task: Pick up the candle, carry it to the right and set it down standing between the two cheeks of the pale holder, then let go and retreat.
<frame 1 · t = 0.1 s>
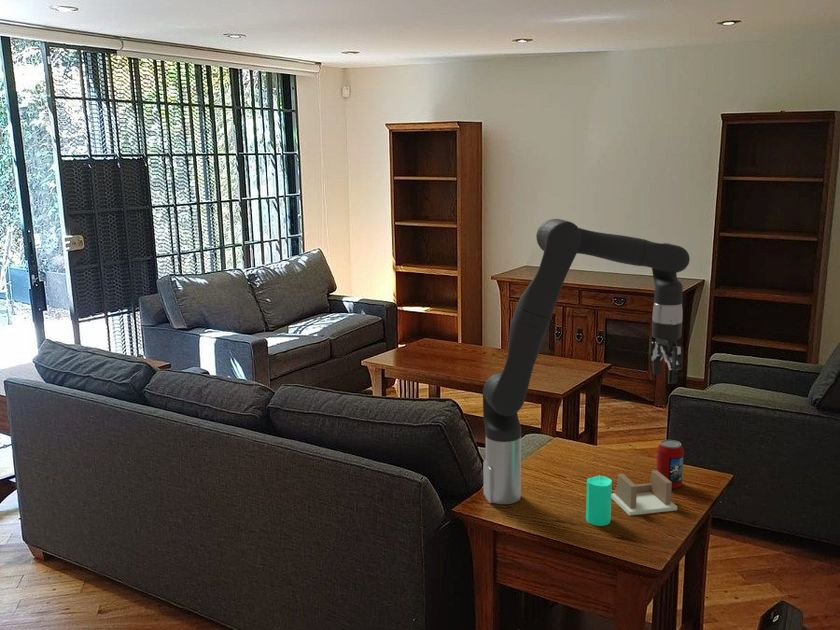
hand: (664, 378, 214), 29 cm above the table, fingers open, 8 cm apart
holder: (643, 503, 206), on the table
candle: (598, 520, 198), on the table
beverage can: (668, 485, 217), on the table
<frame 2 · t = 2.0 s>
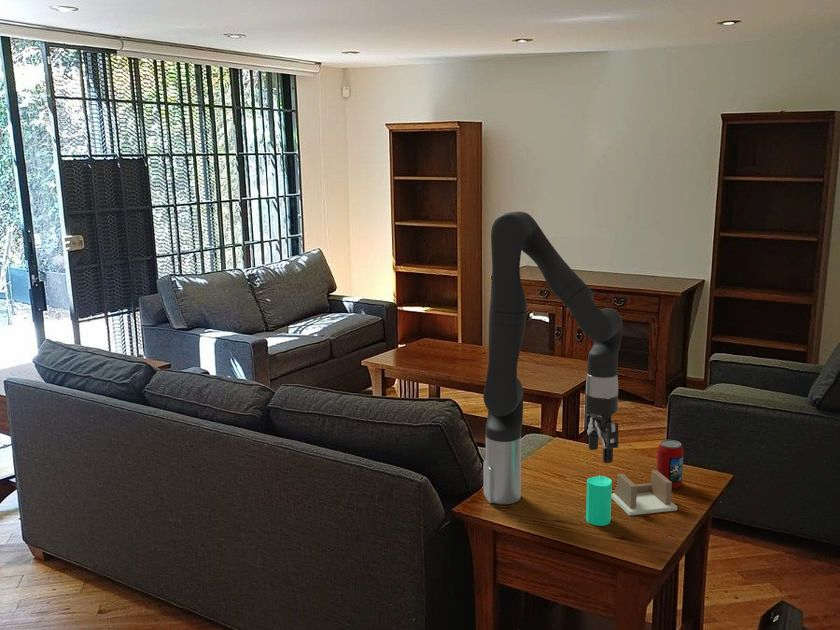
hand: (600, 455, 194), 17 cm above the table, fingers open, 8 cm apart
nothing on the table moved.
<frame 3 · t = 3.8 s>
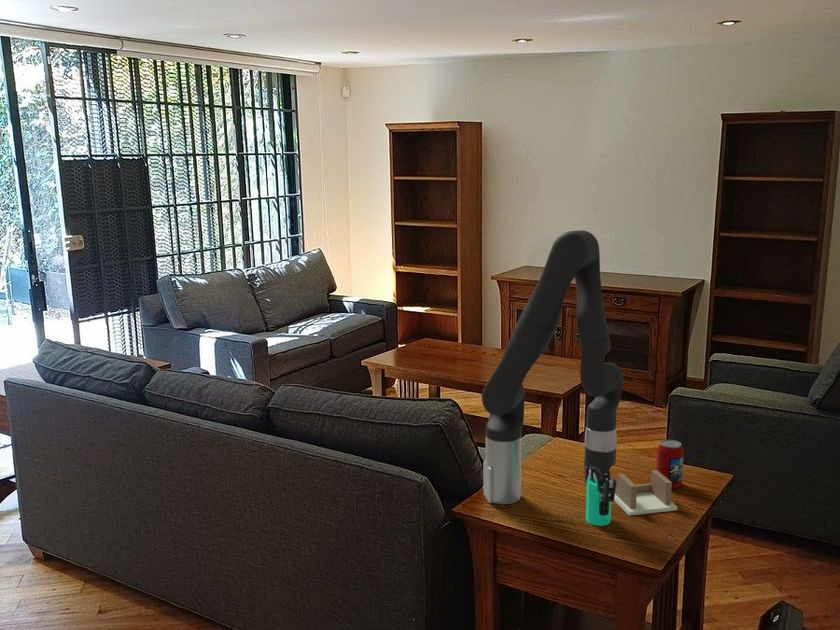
hand: (598, 508, 197), 3 cm above the table, fingers open, 5 cm apart
candle: (598, 520, 198), on the table, touching gripper
everything else where it was.
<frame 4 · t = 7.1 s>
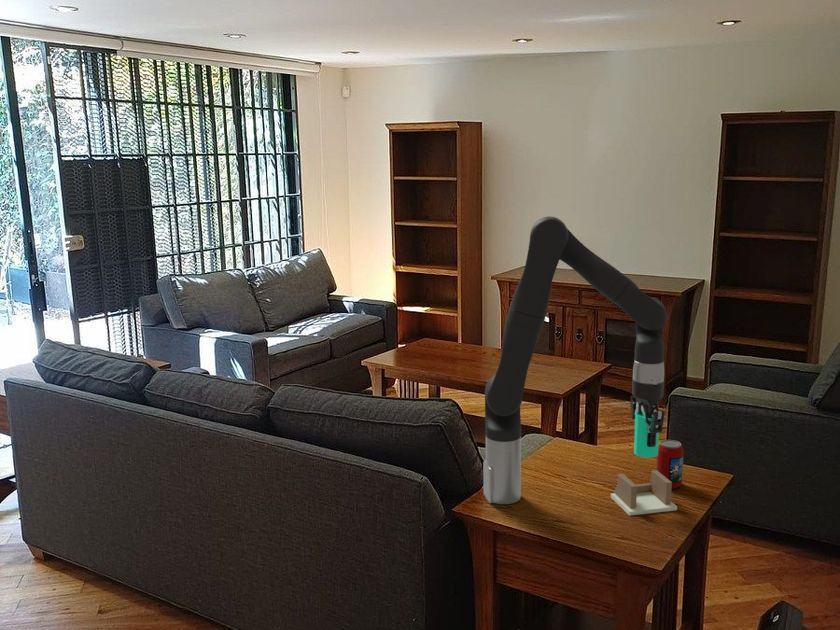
hand: (645, 441, 203), 17 cm above the table, fingers closed on candle, 5 cm apart
candle: (645, 453, 203), point 14 cm above the table, touching gripper
everything else where it was.
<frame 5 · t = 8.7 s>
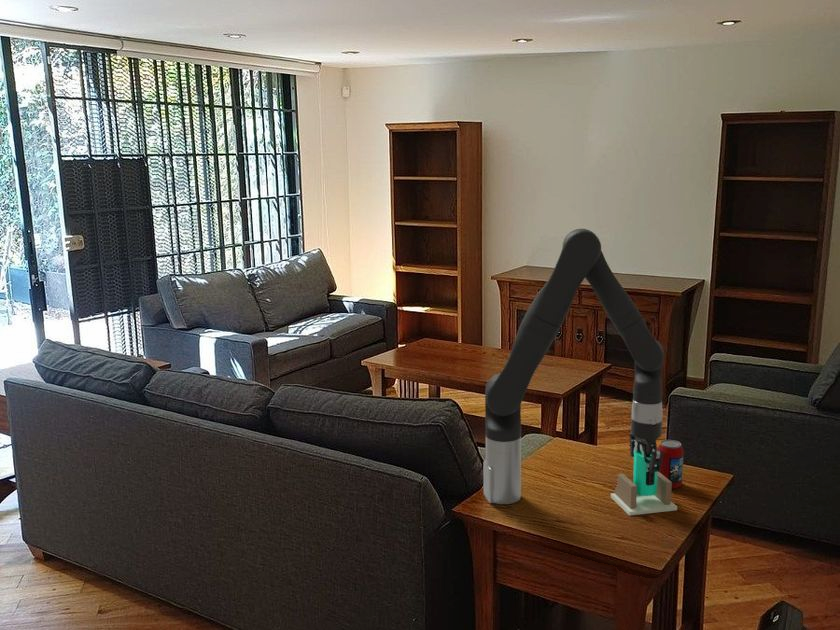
hand: (644, 479, 205), 7 cm above the table, fingers closed on candle, 5 cm apart
candle: (644, 491, 205), point 3 cm above the table, touching gripper
everything else where it was.
when the fingers open (5 cm above the table, at t = 9.9 s): candle drops 1 cm, resting on holder.
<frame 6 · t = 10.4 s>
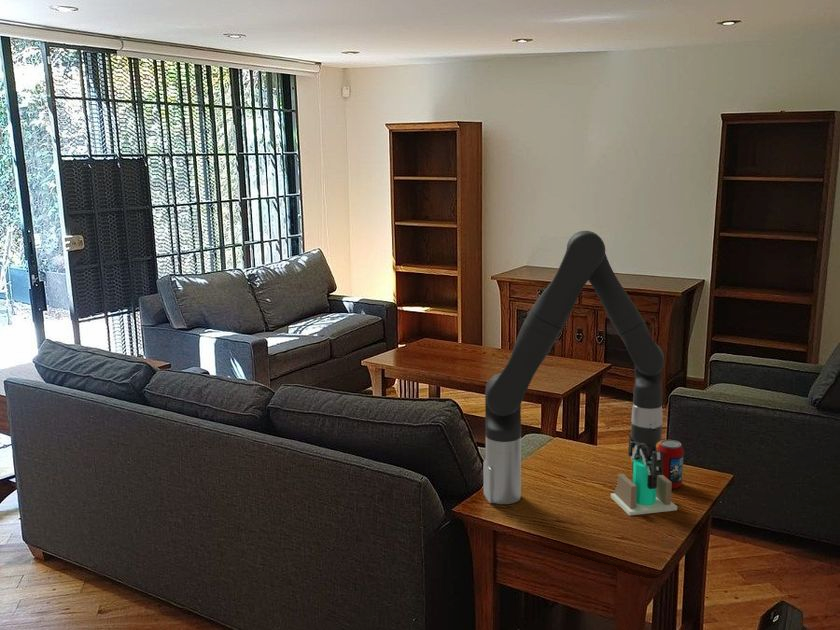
hand: (644, 481, 205), 6 cm above the table, fingers open, 8 cm apart
candle: (643, 500, 206), point 1 cm above the table, touching holder
everything else where it was.
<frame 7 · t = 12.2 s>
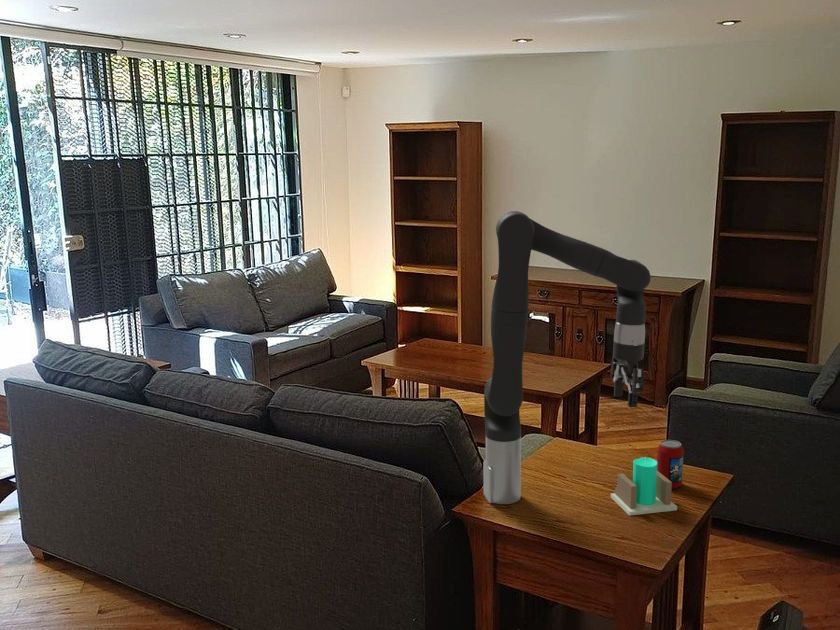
hand: (625, 401, 204), 26 cm above the table, fingers open, 8 cm apart
nothing on the table moved.
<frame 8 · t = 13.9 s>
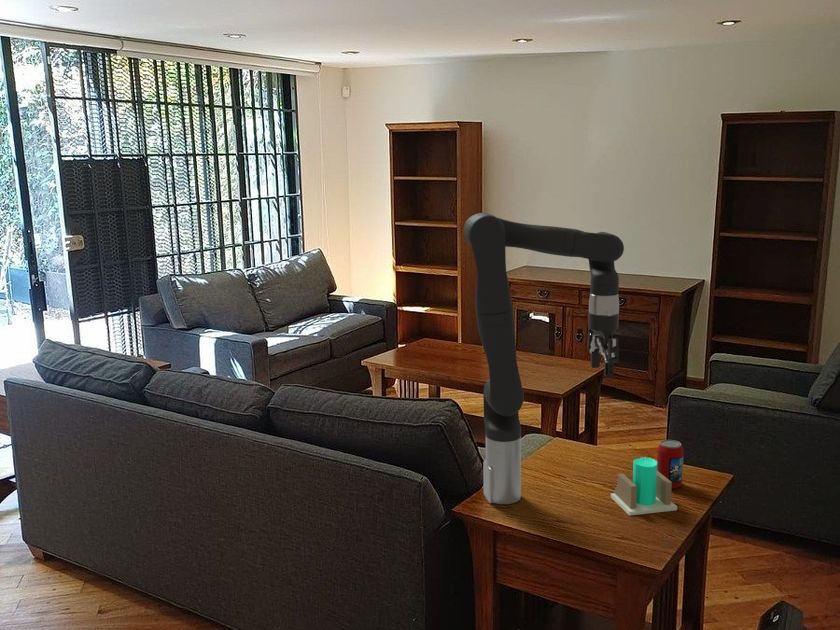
hand: (601, 371, 207), 33 cm above the table, fingers open, 8 cm apart
nothing on the table moved.
at the end: candle 0.1 cm off-centre on the holder, point 0.8 cm above the holder's base; candle tilted 0°; the gripper is holding nothing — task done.
